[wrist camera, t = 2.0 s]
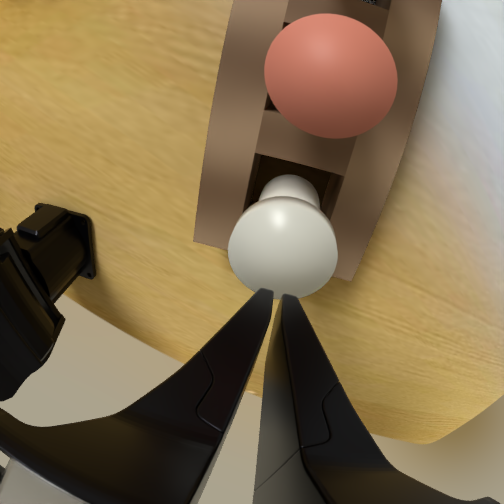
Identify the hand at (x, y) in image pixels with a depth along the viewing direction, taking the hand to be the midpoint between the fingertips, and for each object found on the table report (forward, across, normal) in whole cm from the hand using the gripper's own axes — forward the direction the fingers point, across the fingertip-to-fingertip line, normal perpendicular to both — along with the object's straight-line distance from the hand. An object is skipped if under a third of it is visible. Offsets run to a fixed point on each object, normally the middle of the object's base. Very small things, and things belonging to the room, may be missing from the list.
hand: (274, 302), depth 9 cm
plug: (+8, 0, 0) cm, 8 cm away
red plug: (+8, 0, -6) cm, 10 cm away
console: (+12, 0, -6) cm, 13 cm away
